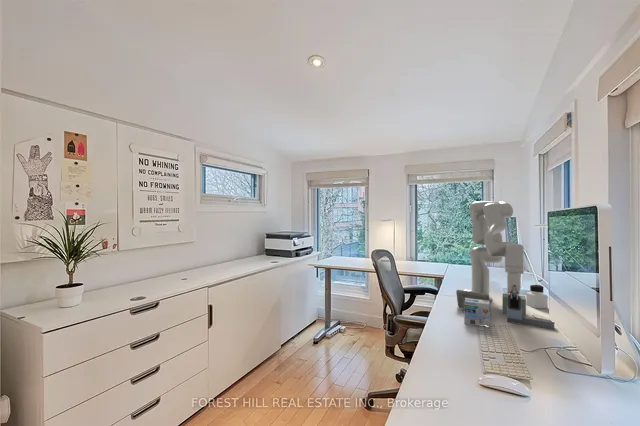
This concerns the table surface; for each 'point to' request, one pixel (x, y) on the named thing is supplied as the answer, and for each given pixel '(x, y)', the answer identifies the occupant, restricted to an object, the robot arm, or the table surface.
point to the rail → (533, 322)
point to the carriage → (514, 310)
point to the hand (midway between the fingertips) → (514, 305)
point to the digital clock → (468, 294)
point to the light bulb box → (476, 312)
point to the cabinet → (505, 304)
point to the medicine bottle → (536, 297)
